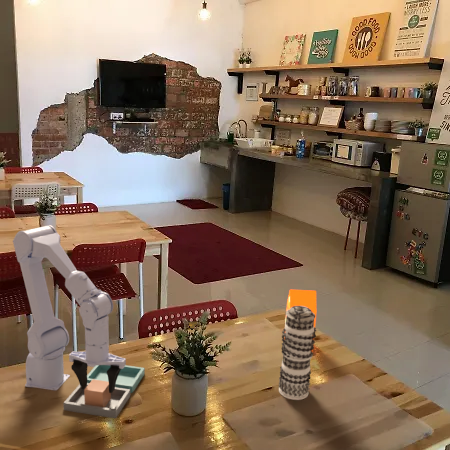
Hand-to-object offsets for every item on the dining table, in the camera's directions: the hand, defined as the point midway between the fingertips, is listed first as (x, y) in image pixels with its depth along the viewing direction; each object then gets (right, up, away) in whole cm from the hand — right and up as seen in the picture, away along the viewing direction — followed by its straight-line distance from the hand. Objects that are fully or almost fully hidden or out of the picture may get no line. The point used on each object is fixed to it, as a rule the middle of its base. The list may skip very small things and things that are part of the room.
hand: (97, 388), depth 130 cm
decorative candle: (+52, -5, +12) cm, 54 cm away
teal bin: (+2, -2, +12) cm, 12 cm away
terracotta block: (0, -4, +1) cm, 4 cm away
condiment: (+22, 0, +26) cm, 34 cm away
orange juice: (+57, +2, +38) cm, 69 cm away
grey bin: (0, -4, +1) cm, 5 cm away
